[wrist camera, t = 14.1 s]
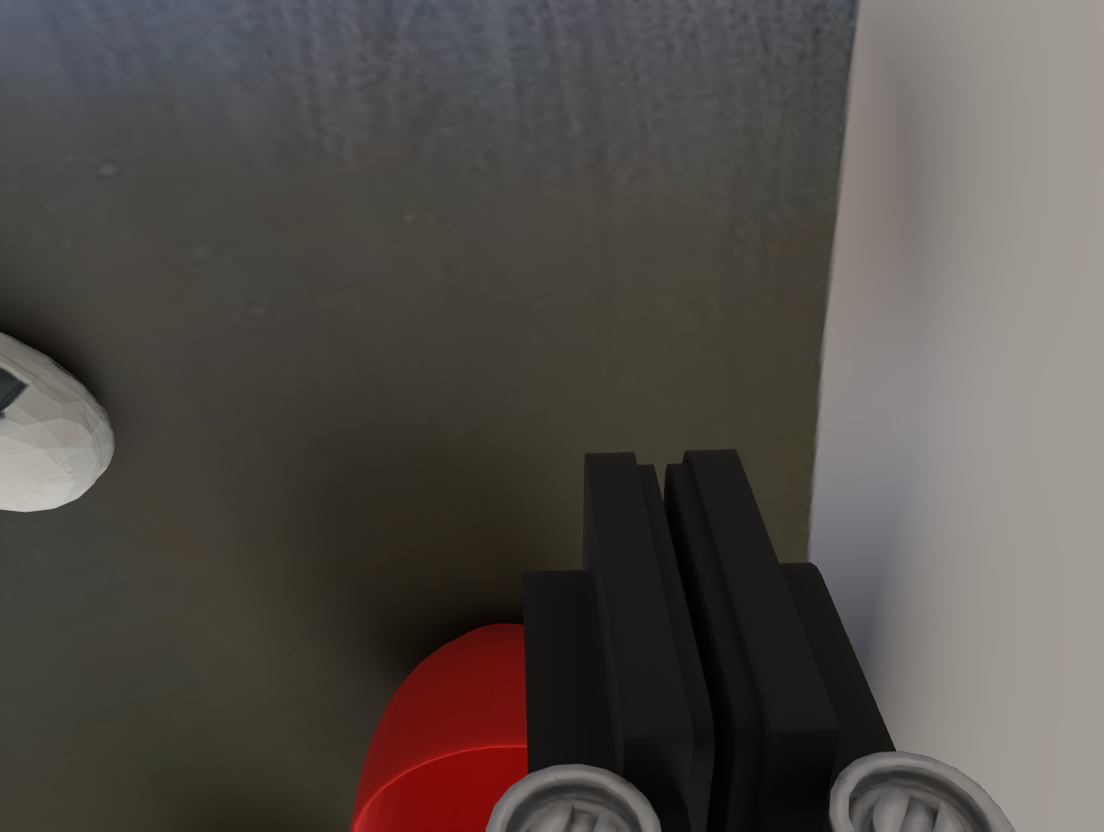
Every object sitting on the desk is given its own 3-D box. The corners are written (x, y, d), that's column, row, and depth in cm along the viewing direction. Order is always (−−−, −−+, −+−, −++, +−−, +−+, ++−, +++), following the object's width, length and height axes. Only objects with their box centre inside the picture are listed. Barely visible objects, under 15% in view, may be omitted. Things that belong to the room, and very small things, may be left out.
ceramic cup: (446, 827, 55) (436, 1011, 47) (335, 607, 47) (298, 783, 38) (673, 779, 54) (706, 959, 45) (602, 544, 45) (626, 712, 37)
